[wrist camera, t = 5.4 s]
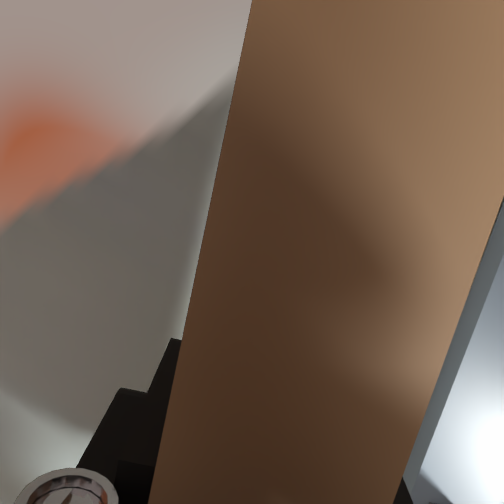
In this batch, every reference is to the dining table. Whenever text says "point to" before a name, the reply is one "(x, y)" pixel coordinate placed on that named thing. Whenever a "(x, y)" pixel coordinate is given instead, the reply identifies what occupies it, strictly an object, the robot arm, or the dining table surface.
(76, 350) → the dining table surface
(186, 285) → the dining table surface
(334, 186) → the slat
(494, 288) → the cradle
